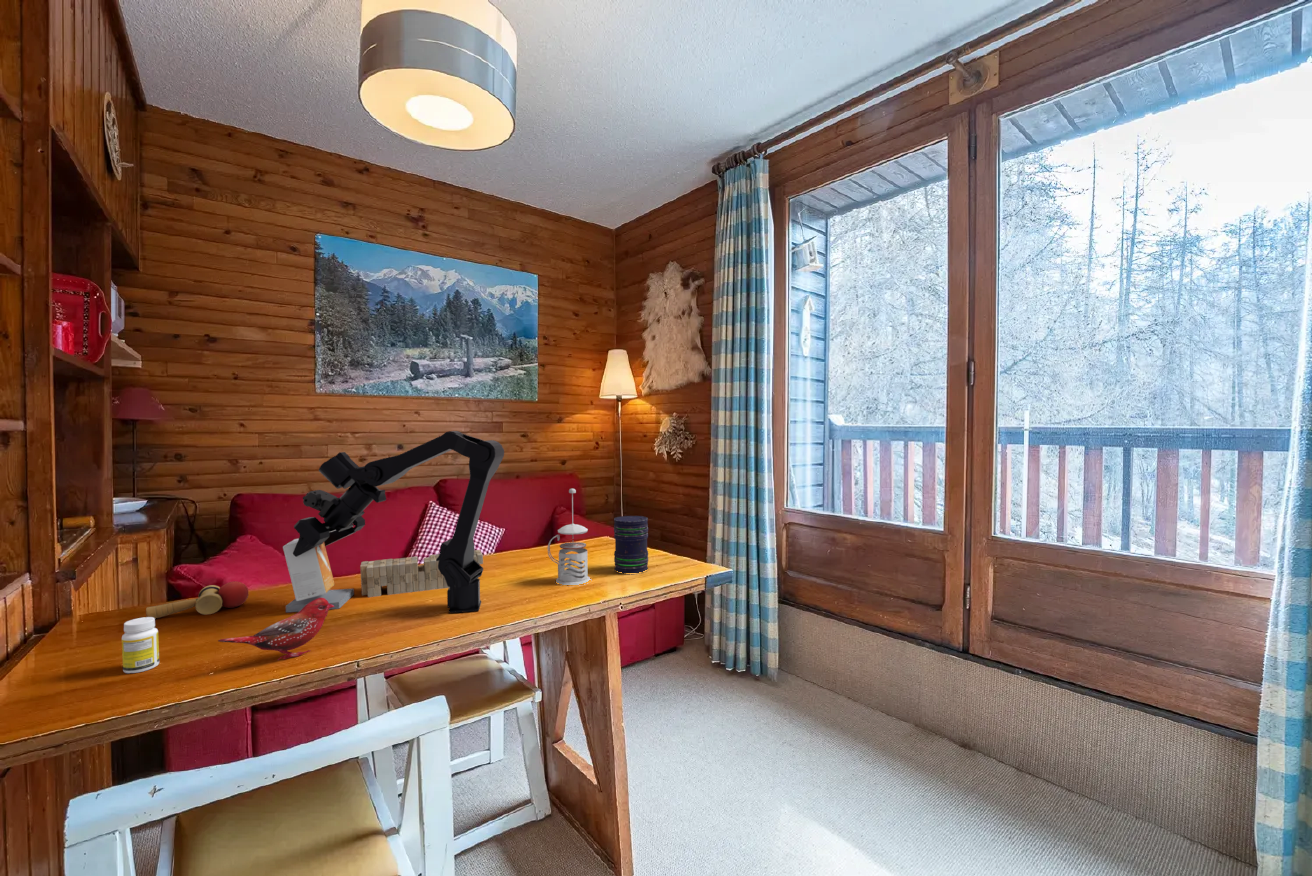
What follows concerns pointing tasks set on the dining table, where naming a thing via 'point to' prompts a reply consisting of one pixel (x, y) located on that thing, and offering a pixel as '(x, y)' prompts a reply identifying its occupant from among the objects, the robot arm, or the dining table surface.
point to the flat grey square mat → (331, 596)
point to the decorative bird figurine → (290, 630)
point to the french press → (571, 555)
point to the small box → (308, 571)
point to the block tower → (403, 575)
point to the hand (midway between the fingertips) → (308, 550)
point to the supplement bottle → (140, 645)
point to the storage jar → (631, 544)
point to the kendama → (205, 600)
